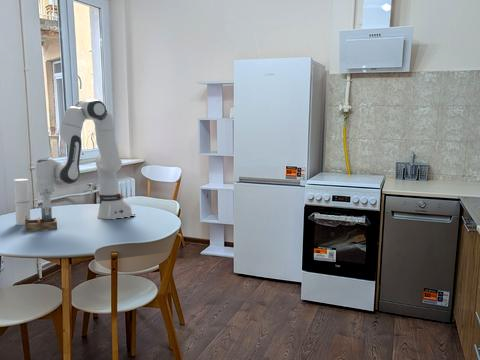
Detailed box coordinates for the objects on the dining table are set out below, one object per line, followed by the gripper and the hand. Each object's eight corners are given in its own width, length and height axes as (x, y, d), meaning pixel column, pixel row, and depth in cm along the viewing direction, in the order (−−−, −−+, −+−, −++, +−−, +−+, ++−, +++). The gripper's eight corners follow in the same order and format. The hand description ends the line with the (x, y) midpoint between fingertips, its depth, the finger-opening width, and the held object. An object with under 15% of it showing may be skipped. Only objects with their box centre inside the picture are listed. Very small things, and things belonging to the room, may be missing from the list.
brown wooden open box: (56, 224, 228) (55, 213, 227) (57, 229, 219) (56, 217, 218) (26, 227, 221) (25, 215, 220) (25, 232, 212) (25, 219, 211)
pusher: (40, 225, 223) (39, 216, 222) (40, 228, 217) (40, 219, 216) (37, 225, 222) (37, 217, 222) (38, 228, 216) (37, 220, 215)
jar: (51, 217, 224) (51, 205, 223) (52, 219, 220) (51, 207, 219) (41, 218, 222) (40, 206, 221) (41, 220, 217) (41, 208, 216)
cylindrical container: (24, 225, 225) (22, 180, 222) (13, 224, 227) (10, 180, 223) (33, 222, 232) (31, 179, 229) (22, 221, 233) (20, 178, 230)
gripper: (53, 191, 211) (54, 217, 213) (51, 185, 229) (52, 209, 231) (39, 191, 208) (40, 218, 210) (38, 185, 226) (40, 210, 228)
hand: (46, 213), depth 220 cm, fingers closed on jar, 5 cm apart
